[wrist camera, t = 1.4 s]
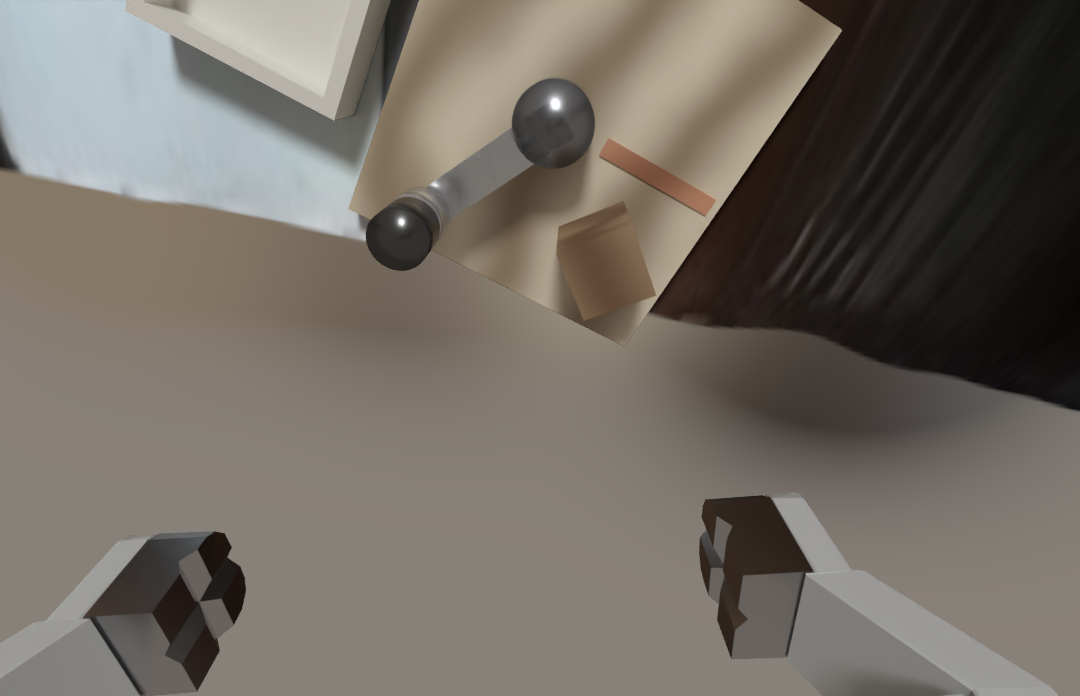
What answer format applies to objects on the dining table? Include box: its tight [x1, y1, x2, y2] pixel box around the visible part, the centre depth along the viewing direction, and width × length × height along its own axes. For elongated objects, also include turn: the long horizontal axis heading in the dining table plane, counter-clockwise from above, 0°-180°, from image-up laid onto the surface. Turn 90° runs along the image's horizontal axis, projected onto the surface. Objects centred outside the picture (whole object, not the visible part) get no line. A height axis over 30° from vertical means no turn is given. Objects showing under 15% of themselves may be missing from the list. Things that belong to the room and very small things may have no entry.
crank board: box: [349, 0, 842, 346], centre depth 29 cm, size 19×20×2 cm
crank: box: [366, 77, 595, 271], centre depth 26 cm, size 11×4×8 cm, turn 123°
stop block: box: [556, 201, 656, 321], centre depth 30 cm, size 4×4×5 cm
